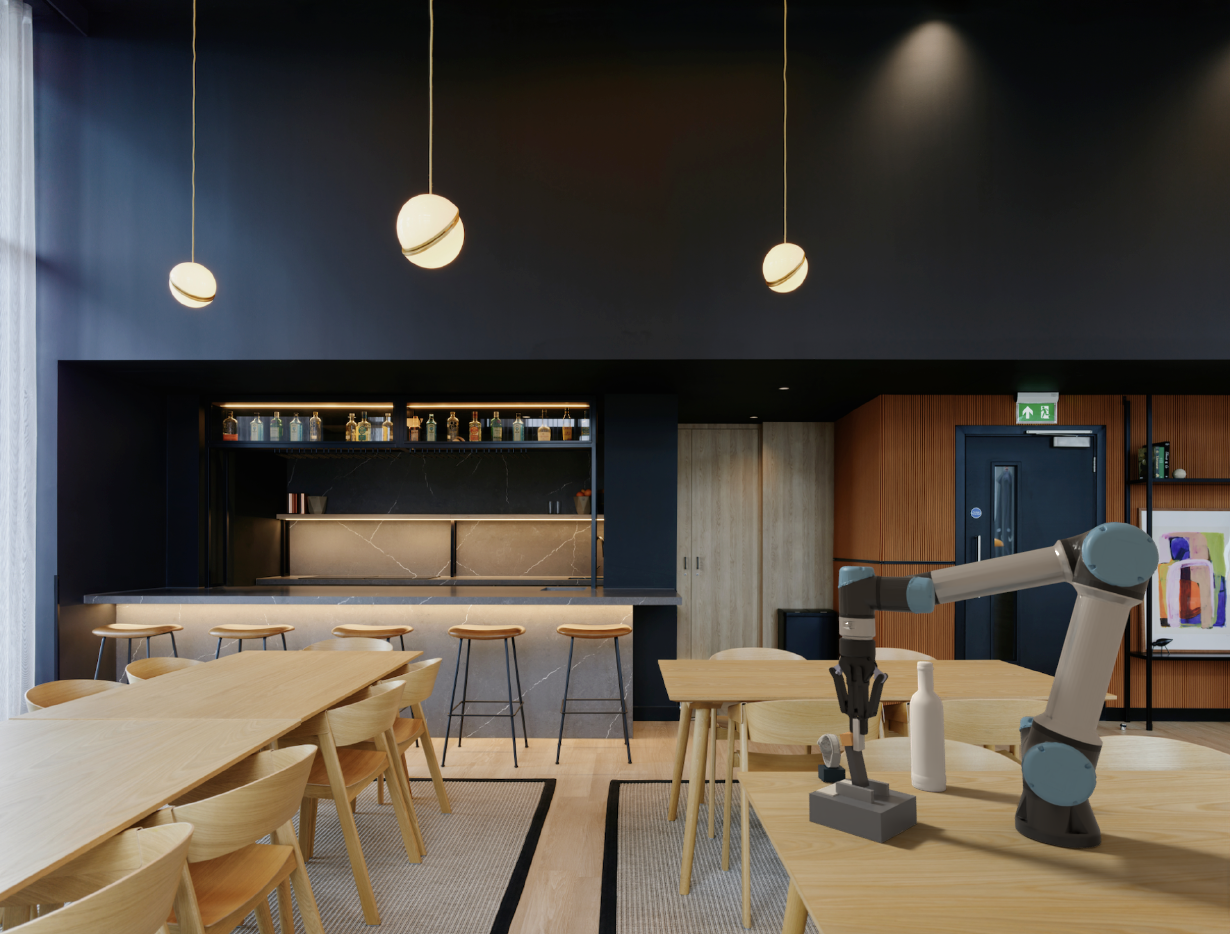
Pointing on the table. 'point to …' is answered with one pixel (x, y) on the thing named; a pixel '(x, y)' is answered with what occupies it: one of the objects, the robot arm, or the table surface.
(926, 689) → the bottle
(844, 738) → the lever
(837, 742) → the watch
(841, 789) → the box
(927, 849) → the table surface
